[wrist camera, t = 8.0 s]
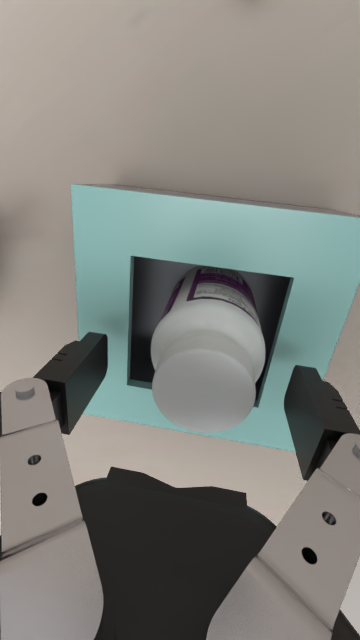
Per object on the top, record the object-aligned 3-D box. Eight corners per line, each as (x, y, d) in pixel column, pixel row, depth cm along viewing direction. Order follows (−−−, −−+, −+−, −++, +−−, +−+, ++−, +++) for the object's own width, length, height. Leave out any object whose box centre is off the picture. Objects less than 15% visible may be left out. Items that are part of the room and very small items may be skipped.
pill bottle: (203, 348, 21) (187, 463, 13) (157, 291, 20) (104, 378, 11) (269, 310, 19) (303, 416, 11) (224, 244, 18) (220, 305, 9)
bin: (332, 209, 17) (383, 220, 12) (278, 388, 23) (295, 452, 17) (116, 184, 18) (70, 184, 13) (115, 361, 24) (82, 413, 18)
